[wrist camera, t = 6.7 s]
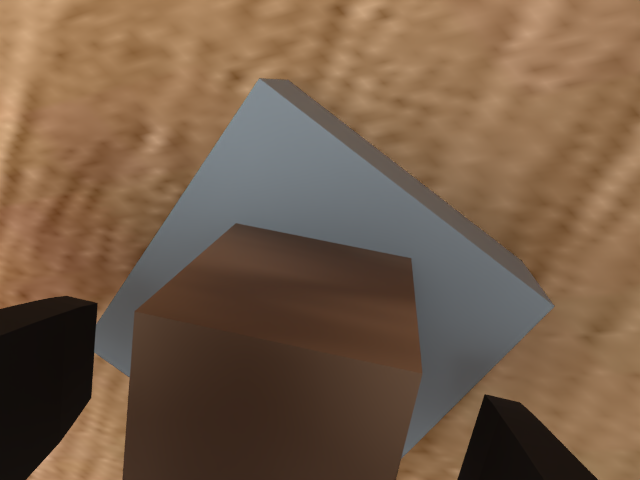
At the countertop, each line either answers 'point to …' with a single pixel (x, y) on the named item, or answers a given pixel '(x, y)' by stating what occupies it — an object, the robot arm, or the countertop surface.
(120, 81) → the countertop surface
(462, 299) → the base block
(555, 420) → the countertop surface
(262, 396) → the walnut block
